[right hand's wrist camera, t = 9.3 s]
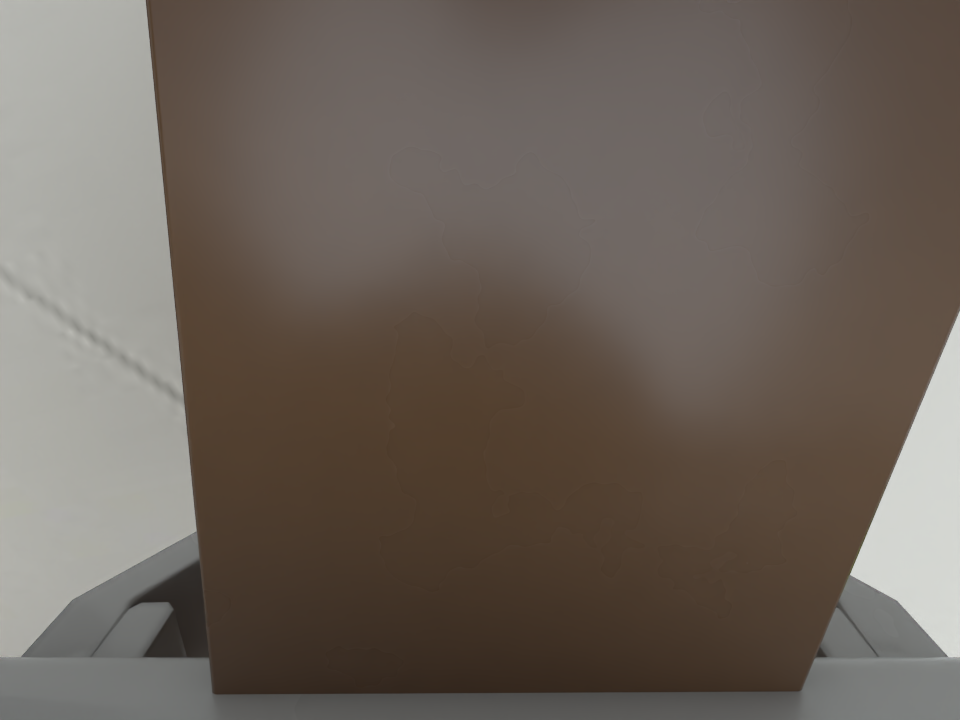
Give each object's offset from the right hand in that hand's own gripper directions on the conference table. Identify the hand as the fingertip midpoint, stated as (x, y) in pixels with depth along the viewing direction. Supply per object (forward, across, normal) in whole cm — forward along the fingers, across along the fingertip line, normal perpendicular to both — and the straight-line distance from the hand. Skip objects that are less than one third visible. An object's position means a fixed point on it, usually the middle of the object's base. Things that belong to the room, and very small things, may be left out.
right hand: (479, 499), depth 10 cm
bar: (+4, -1, -8) cm, 9 cm away
